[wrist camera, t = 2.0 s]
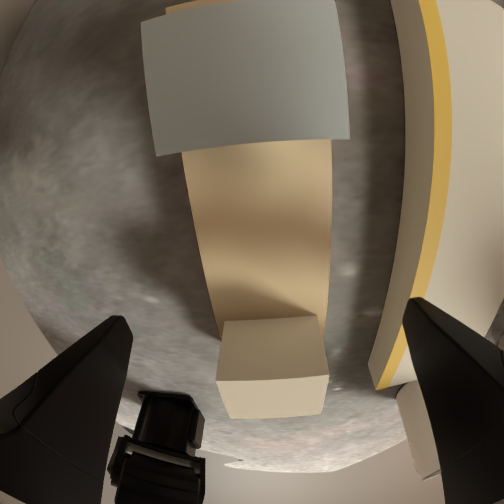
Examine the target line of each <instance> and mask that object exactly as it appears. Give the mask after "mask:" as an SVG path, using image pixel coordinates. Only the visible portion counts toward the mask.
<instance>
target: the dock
mask: <svg viewBox="0 0 504 504" xmlns="http://www.w3.org/2000/svg"><path fill="white" fill-rule="evenodd" d="M390 1H391V6H392V10H393V15H394V19H395V24H396V30H397V36H398V42H399V48H400V56H401V64H402V73H403V84H404V99H405V170H404V186H403V197H402V208H401V216H400V225H399V232H398V239H397V245H396V251H395V257H394V263H393V268H392V273H391V278H390V283H389V288H388V292H387V297H386V301H385V305H384V309H383V313H382V317H381V321H380V324H379V328H378V332H377V335H376V339H375V342H374V345H373V349H372V352H371V355H370V358H369V361H368V367H369V370H370V373H371V377H372V380H373V383H374V387H375V390H379V389H384V388H388V387H390V386H395V385H399V384H403V383H407V382H411V381H414V380H417V376H416V373H415V371H414V367H413V364H412V360H411V356H410V352H409V348H408V344H407V340H406V336H405V332H404V329H403V325H402V318H403V314H404V311H405V308H406V305H407V301H408V300H409V299H410V298H413V297H422V298H424V299H425V300H427V301H429V302H430V303H432V304H433V305H435V306H437V307H438V308H440V309H441V310H443V311H445V312H446V313H448V314H449V315H451V316H452V317H454V318H456V319H457V320H459V321H460V322H462V323H463V324H465V325H466V326H468V327H469V328H471V329H472V330H474V331H475V332H477V333H478V334H480V335H481V336H483V337H485V335H486V333H487V331H488V330H489V328H490V326H491V324H492V322H493V320H494V318H495V316H496V314H497V312H498V309H499V307H500V305H501V303H502V301H503V298H504V9H503V8H502V7H500V6H499V5H497V4H496V3H494V2H492V1H491V0H390Z"/></svg>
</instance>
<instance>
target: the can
mask: <svg viewBox="0 0 504 504" xmlns="http://www.w3.org/2000/svg"><path fill="white" fill-rule="evenodd" d="M396 401H397V404H398V407H399V411H400V414H401V417H402V421H403V424H404V428H405V431H406V435H407V438H408V442H409V446H410V449H411V453H412V457H413V461H414V465H415V469H416V471H417V472H418V473H419V474H420V475H421V476H422V478H423V479H422V481H423V480H427V479H430V478H432V477H435V476H437V475H439V474H441V469H440V464H439V459H438V454H437V449H436V445H435V440H434V436H433V432H432V428H431V424H430V420H429V416H428V413H427V409H426V406H425V402H424V399H423V395H422V392H421V389H420V386H419V383H418V380H414V381H411V382H407V383H406V384H404V385H403V386H402V387H401V388H400V390H399V391H398V394H397V396H396Z"/></svg>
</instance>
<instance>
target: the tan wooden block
mask: <svg viewBox="0 0 504 504" xmlns="http://www.w3.org/2000/svg"><path fill="white" fill-rule="evenodd" d="M232 1H241V0H196V1H191V2H187V3H182V4H178V5H174V6H170V7H167V8H166V14H170V13H174V12H178V11H182V10H186V9H191V8H196V7H201V6H206V5H212V4H218V3H225V2H232ZM181 153H182V159H183V165H184V171H185V177H186V183H187V189H188V194H189V200H190V205H191V210H192V216H193V221H194V226H195V231H196V236H197V241H198V246H199V250H200V255H201V260H202V264H203V269H204V273H205V278H206V282H207V287H208V291H209V295H210V300H211V304H212V308H213V312H214V316H215V320H216V324H217V328H218V332H219V336H220V340H221V341H222V335H223V328H224V322H225V321H238V320H259V319H275V318H290V317H302V316H314V315H317V317H318V322H319V326H320V331H321V335H322V340H324V331H325V321H326V311H327V300H328V287H329V273H330V255H331V231H332V151H331V139H317V140H290V141H273V142H260V143H249V144H239V145H230V146H221V147H213V148H206V149H199V150H192V151H186V152H181Z"/></svg>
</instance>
